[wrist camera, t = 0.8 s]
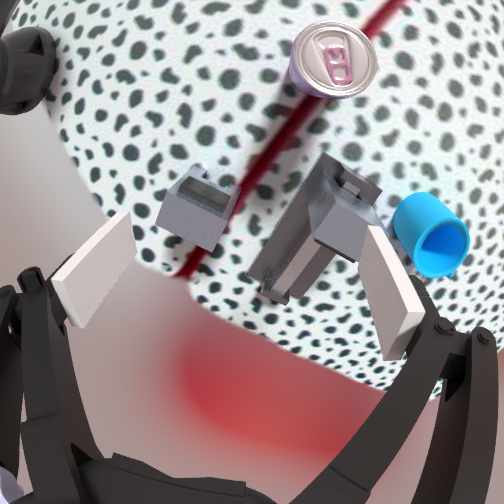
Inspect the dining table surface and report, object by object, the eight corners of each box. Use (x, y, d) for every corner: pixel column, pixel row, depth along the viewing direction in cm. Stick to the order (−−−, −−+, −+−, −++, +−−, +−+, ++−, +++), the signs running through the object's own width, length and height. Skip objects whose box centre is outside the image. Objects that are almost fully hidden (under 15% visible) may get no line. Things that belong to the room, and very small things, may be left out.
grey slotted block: (247, 270, 43) (236, 323, 34) (322, 151, 33) (337, 176, 23) (300, 295, 44) (301, 349, 35) (380, 188, 34) (411, 226, 25)
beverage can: (295, 100, 30) (303, 106, 17) (282, 53, 27) (280, 24, 14) (345, 92, 29) (388, 95, 16) (333, 45, 26) (367, 15, 13)
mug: (382, 213, 36) (402, 243, 29) (429, 180, 32) (458, 204, 25) (416, 271, 40) (434, 306, 33) (457, 243, 36) (481, 274, 29)
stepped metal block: (184, 190, 37) (154, 224, 29) (198, 159, 35) (169, 184, 26) (229, 212, 38) (212, 252, 30) (245, 182, 36) (231, 214, 27)
